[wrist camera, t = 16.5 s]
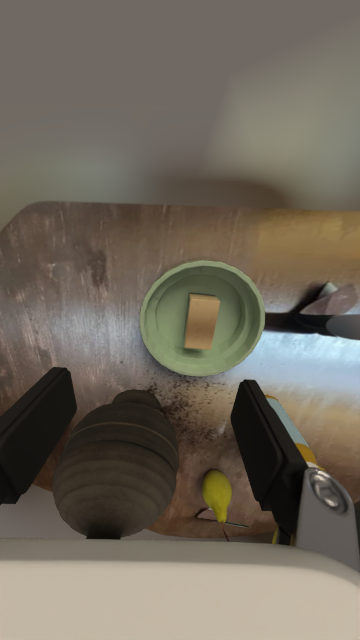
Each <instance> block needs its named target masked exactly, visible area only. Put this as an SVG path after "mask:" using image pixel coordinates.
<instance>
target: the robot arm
mask: <svg viewBox="0 0 360 640" xmlns="http://www.w3.org/2000/svg"><path fill="white" fill-rule="evenodd" d="M76 410H77V406H76V400H75V395H74V389H73V384H72V379H71V373H70V371H68V370H67V368H61V367H53V368H52V369H50V370H49V371H48V372H47V373H46V374H45V375H44V376H43V377H42V378H41V379H40V380H39V381H38V382H37V383H36V384H35V385H34V386H33V387H32V388H31V389H29V390H28V391H27V392H26V393H25V394H24V395H23V396H22V397H21V398H20V399H19V400H18V401H17V402H16V403H15V404H14V405H13V406H12V407H11V408H10V409H8V410H7V411H6V412H5V413H4V414H3V415H2V416H1V417H0V505H1V504H3V503H4V504H16V502H17V501H18V499H19V497H20V496H21V494H24V493H25V492H26V491H27V490H28V489H29V487H30V486H31V484H32V483H33V481H34V479H35V478H36V476H37V475H38V473H39V471H40V470H41V468H42V466H43V465H44V463H45V462H46V460H47V458H48V457H49V455H50V454H51V452H52V450H53V449H54V447H55V445H56V444H57V442H58V441H59V439H60V437H61V436H62V434H63V433H64V431H65V429H66V428H67V426H68V424H69V423H70V421H71V420H72V418H73V416H74V415H75V413H76ZM231 424H232V427H233V430H234V433H235V437H236V440H237V443H238V446H239V450H240V453H241V456H242V459H243V463H244V466H245V469H246V472H247V476H248V479H249V482H250V485H251V489H252V492H253V495H254V498H255V500H256V501H259V503H260V506H261V510H262V511H272V513H273V516H274V519H275V522H276V527H275V532H274V538H273V542H272V544H258V543H240V542H202V541H200V542H199V541H162V540H111V539H43V538H40V539H39V538H0V640H360V511H359V510H357V509H356V508H355V507H354V506H353V502H352V500H351V498H350V496H349V494H348V493H347V491H346V490H345V489H344V487H343V486H342V485H341V484H340V483H339V482H338V481H337V480H336V479H335V478H334V477H333V476H331V475H330V474H329V473H327V472H325V471H324V470H322V469H319V468H315V467H309V466H308V464H307V463H306V461H305V459H304V458H303V456H302V454H301V453H300V451H299V449H298V448H297V446H296V444H295V443H294V441H293V439H292V438H291V436H290V434H289V433H288V431H287V429H286V428H285V426H284V424H283V423H282V421H281V419H280V418H279V416H278V414H277V413H276V411H275V410H274V408H272V407H271V405H270V404H269V402H268V400H267V399H266V397H265V395H264V394H263V392H262V390H261V389H260V387H259V385H258V383H257V382H256V381H255V380H246V379H245V380H243V382H240V385H239V388H238V392H237V395H236V399H235V402H234V406H233V409H232V413H231Z"/></svg>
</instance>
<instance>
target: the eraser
mask: <svg viewBox="0 0 360 640" xmlns="http://www.w3.org/2000/svg"><path fill="white" fill-rule="evenodd" d="M219 306H220V301H219V300H218V298H217V297H216V296H215V295H212V294H202V293H192V292H189V297H188V305H187V313H186V321H185V330H184V347H185V348H195V349H207V350H211V347H212V342H213V337H214V331H215V326H216V321H217V316H218V311H219Z"/></svg>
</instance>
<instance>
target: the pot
mask: <svg viewBox="0 0 360 640" xmlns="http://www.w3.org/2000/svg"><path fill="white" fill-rule="evenodd" d="M178 467H179V456H178V443H177V439H176V434H175V430H174V428H173V426H172V425H171V424H170V422H169V421H168V420H167V419H166V418H165V416H164V415H163V413H161V406H160V403H159V401H158V400H157V398H155V396H154V395H151V394H150V393H148V392H145V391H141V390H127V391H124V392H122V393H120V394H118V395H117V396H116V397H115V398H114V400H113V402H112V404H107V405H103V406H101V407H98V408H96V409H95V410H93V411H91V412H89V413H88V414H87V415H86V416H85V417H84V418H83V420H82V421H80V422H79V423H78V424H77V426H76V427H75V428H74V430H73V431H72V433H71V436H70V437H69V438H68V440H67V441H66V443H65V445H64V449H63V452H62V454H61V456H60V459H59V462H58V464H57V466H56V469H55V472H54V475H53V496H54V499H55V504H56V507H57V509H58V510H59V513H60V516H61V517H62V519H63V520H64V521H65V522H66V523H67V524H68V525H69V526H70V527H71V528H72V529H73V530H75V531H77V532H79V533H81V534H83V535H85V536H87V538H86V539H111V540H120V538H121V537H125V536H130V535H132V534H135V533H137V532H140V531H142V530H143V529H145V528H146V527H148V526H150V525H151V524H153V523H154V522H155V521H156V520H157V518H158V517H159V516H160V515H161V514H162V513H163V512H164V511H165V509H166V508H167V506H168V505H169V504H170V502H171V499H172V497H173V494H174V492H175V488H176V474H177V471H178Z"/></svg>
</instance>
